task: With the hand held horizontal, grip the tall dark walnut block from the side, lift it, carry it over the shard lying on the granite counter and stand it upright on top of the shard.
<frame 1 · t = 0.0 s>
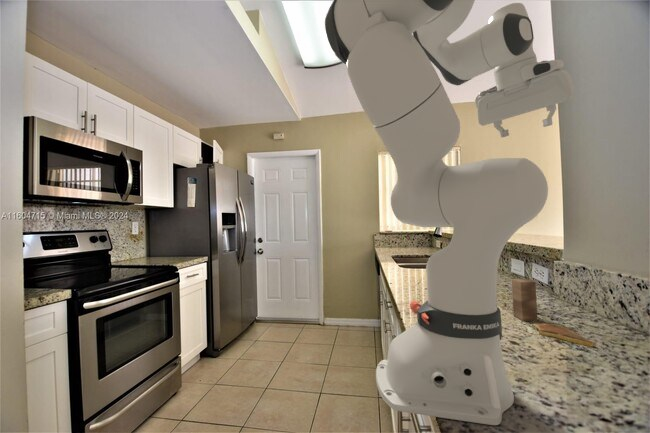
hand: (525, 131, 70), 52 cm above the worktop, tool tilted 20°, fingers open, 8 cm apart
walnut block: (525, 318, 76), on the worktop
shard: (564, 337, 65), on the worktop
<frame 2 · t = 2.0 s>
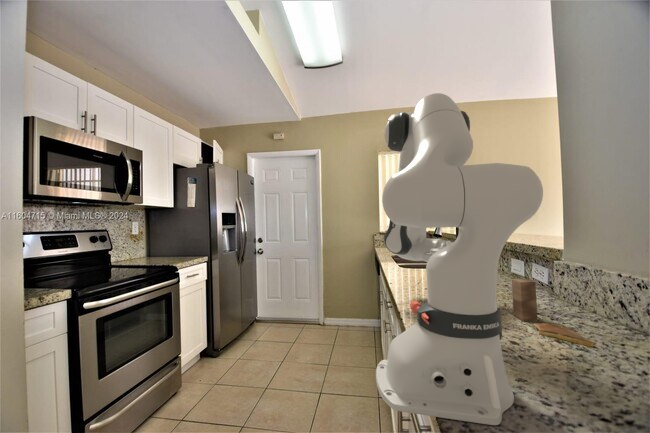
hand: (477, 254, 86), 18 cm above the worktop, tool horizontal, fingers open, 8 cm apart
nothing on the worktop moved.
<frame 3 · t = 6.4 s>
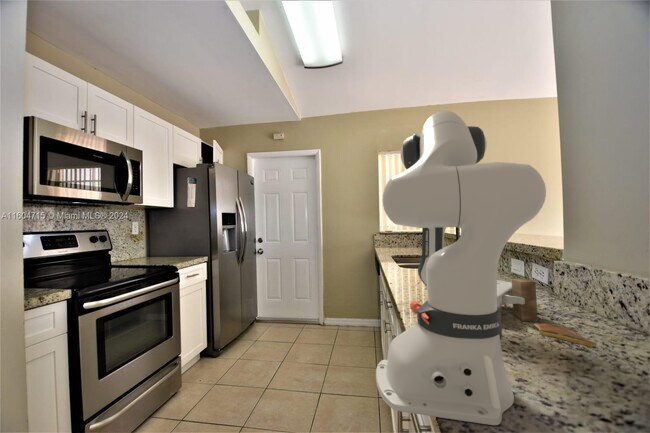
hand: (527, 298, 76), 6 cm above the worktop, tool horizontal, fingers closed on walnut block, 6 cm apart
walnut block: (525, 318, 76), on the worktop, touching gripper
everything else where it was.
when the fingers open (9 cm above the worktop, at t = 10.6 s): walnut block drops 2 cm, resting on shard.
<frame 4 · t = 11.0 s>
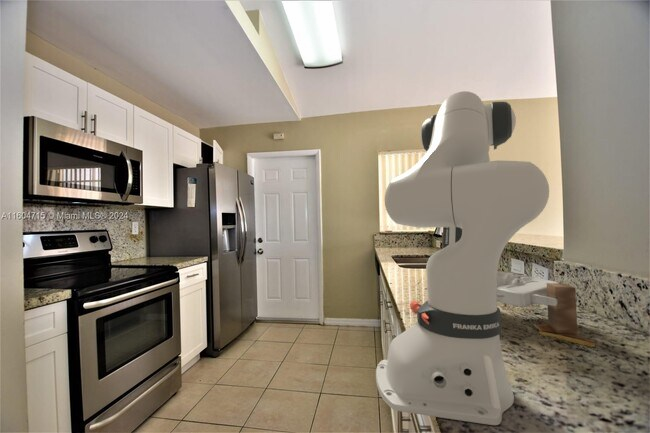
hand: (566, 298, 65), 9 cm above the worktop, tool horizontal, fingers open, 8 cm apart
walnut block: (562, 329, 65), point 1 cm above the worktop, touching shard
shard: (564, 337, 65), on the worktop, touching walnut block
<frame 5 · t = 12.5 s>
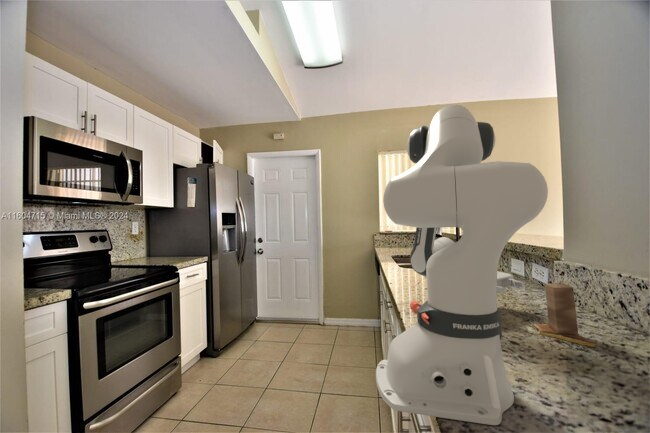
hand: (513, 288, 75), 9 cm above the worktop, tool horizontal, fingers open, 8 cm apart
nothing on the worktop moved.
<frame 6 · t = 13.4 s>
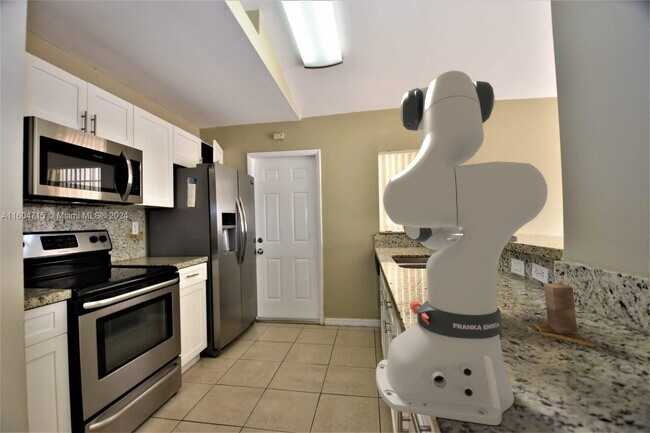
hand: (507, 239, 76), 23 cm above the worktop, tool horizontal, fingers open, 8 cm apart
walnut block: (562, 330, 65), point 1 cm above the worktop
shard: (564, 338, 65), on the worktop
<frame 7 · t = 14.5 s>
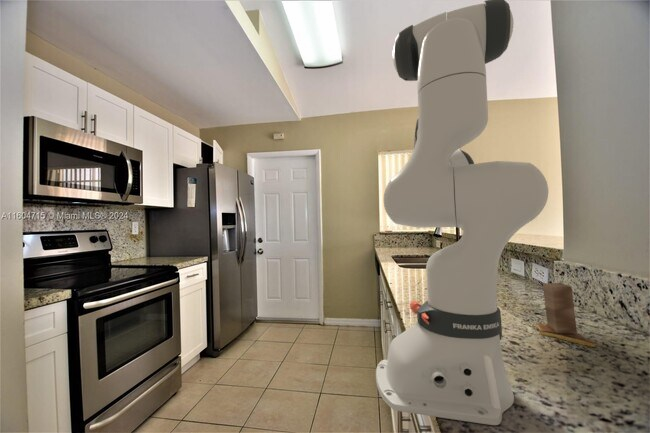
hand: (488, 235, 77), 24 cm above the worktop, tool tilted 40°, fingers open, 8 cm apart
nothing on the worktop moved.
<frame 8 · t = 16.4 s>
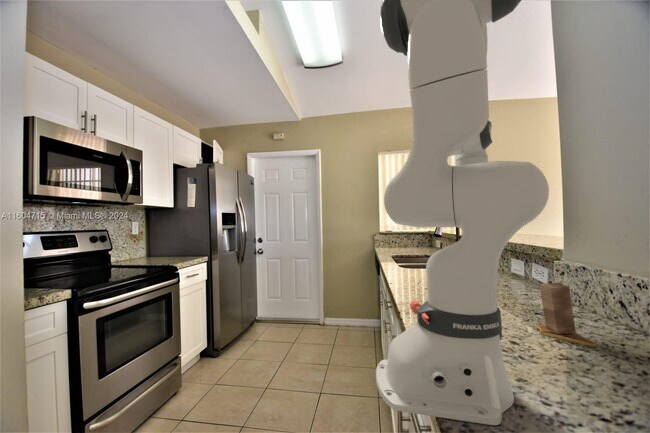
hand: (473, 213, 82), 31 cm above the worktop, tool pointing down, fingers open, 8 cm apart
at the end: walnut block inside the target area on the shard (1.6 cm from its centre), point 2.3 cm above the shard's base; walnut block tilted 6°; walnut block touching shard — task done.
